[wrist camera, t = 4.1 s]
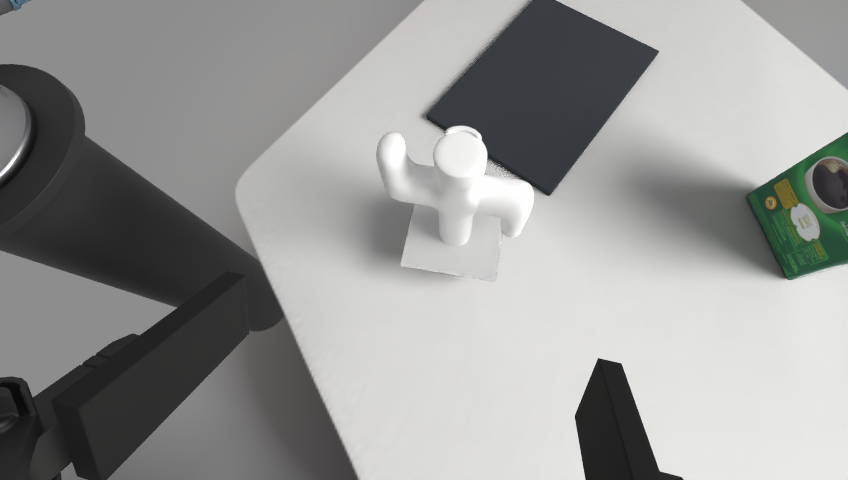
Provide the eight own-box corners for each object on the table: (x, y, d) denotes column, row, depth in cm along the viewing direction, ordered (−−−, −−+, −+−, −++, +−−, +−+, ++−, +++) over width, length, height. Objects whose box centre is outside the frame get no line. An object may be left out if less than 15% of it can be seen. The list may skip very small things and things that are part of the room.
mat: (549, 196, 36) (551, 193, 36) (426, 118, 40) (426, 114, 39) (656, 55, 41) (659, 50, 41) (539, -3, 45) (540, -8, 44)
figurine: (503, 296, 33) (547, 225, 19) (391, 276, 34) (356, 195, 20) (513, 216, 36) (559, 103, 22) (409, 200, 37) (388, 81, 23)
